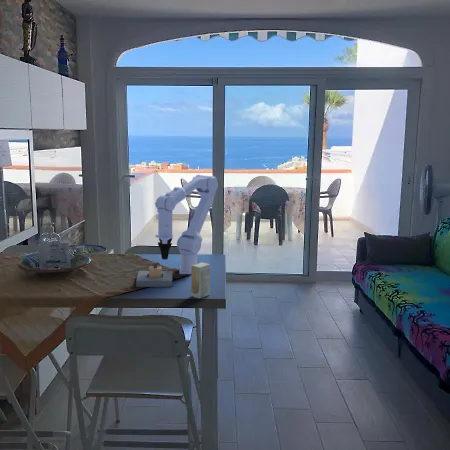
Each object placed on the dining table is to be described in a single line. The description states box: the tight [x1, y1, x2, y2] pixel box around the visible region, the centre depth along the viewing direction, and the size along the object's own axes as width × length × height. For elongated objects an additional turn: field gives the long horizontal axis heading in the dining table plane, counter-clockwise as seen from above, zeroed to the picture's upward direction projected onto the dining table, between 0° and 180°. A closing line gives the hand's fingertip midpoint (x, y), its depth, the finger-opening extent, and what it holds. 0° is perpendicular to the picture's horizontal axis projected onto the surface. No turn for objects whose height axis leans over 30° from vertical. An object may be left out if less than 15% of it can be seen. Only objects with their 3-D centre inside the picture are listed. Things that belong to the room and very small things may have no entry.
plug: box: [148, 262, 162, 278], centre depth 198 cm, size 4×5×8 cm
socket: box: [135, 270, 173, 288], centre depth 198 cm, size 14×14×2 cm
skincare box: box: [190, 261, 211, 299], centre depth 182 cm, size 6×4×12 cm
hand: (165, 256), depth 201 cm, fingers open, 7 cm apart
